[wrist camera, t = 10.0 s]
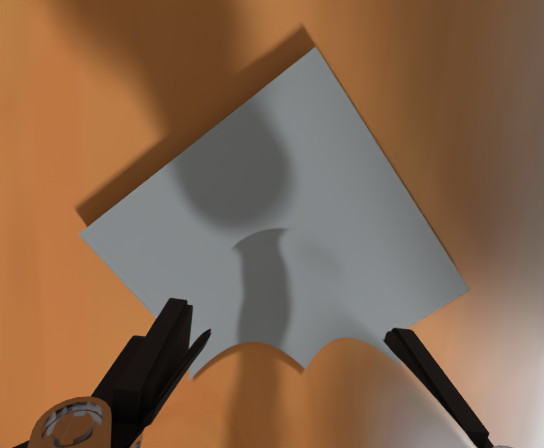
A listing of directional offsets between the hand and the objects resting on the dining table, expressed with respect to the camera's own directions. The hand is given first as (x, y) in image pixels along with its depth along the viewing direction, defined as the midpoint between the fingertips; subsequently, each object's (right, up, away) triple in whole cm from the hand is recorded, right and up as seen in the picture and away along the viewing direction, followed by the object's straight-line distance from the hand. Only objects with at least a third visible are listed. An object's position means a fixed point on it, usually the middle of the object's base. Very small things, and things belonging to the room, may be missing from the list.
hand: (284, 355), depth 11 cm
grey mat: (0, +2, +9) cm, 9 cm away
